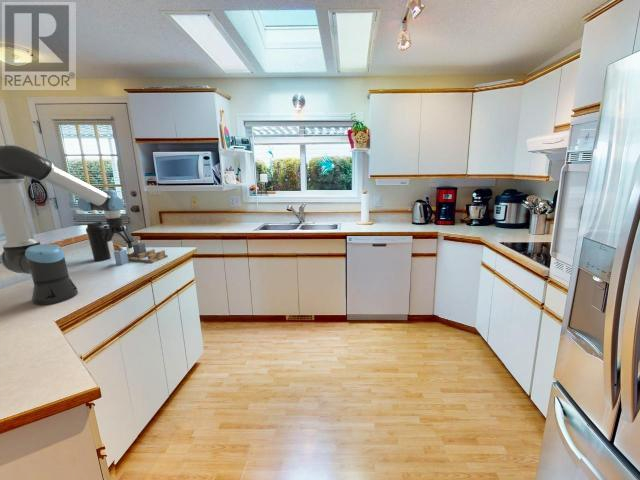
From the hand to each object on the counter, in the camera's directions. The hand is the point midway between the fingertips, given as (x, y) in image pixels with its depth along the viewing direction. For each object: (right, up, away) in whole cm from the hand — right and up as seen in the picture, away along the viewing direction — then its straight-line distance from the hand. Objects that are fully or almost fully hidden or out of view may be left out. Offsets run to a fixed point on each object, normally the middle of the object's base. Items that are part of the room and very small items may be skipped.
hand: (121, 252), depth 175 cm
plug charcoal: (+6, -3, +10) cm, 12 cm away
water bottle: (-18, -5, +10) cm, 21 cm away
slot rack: (+10, -4, +10) cm, 14 cm away
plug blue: (0, -7, +1) cm, 7 cm away
